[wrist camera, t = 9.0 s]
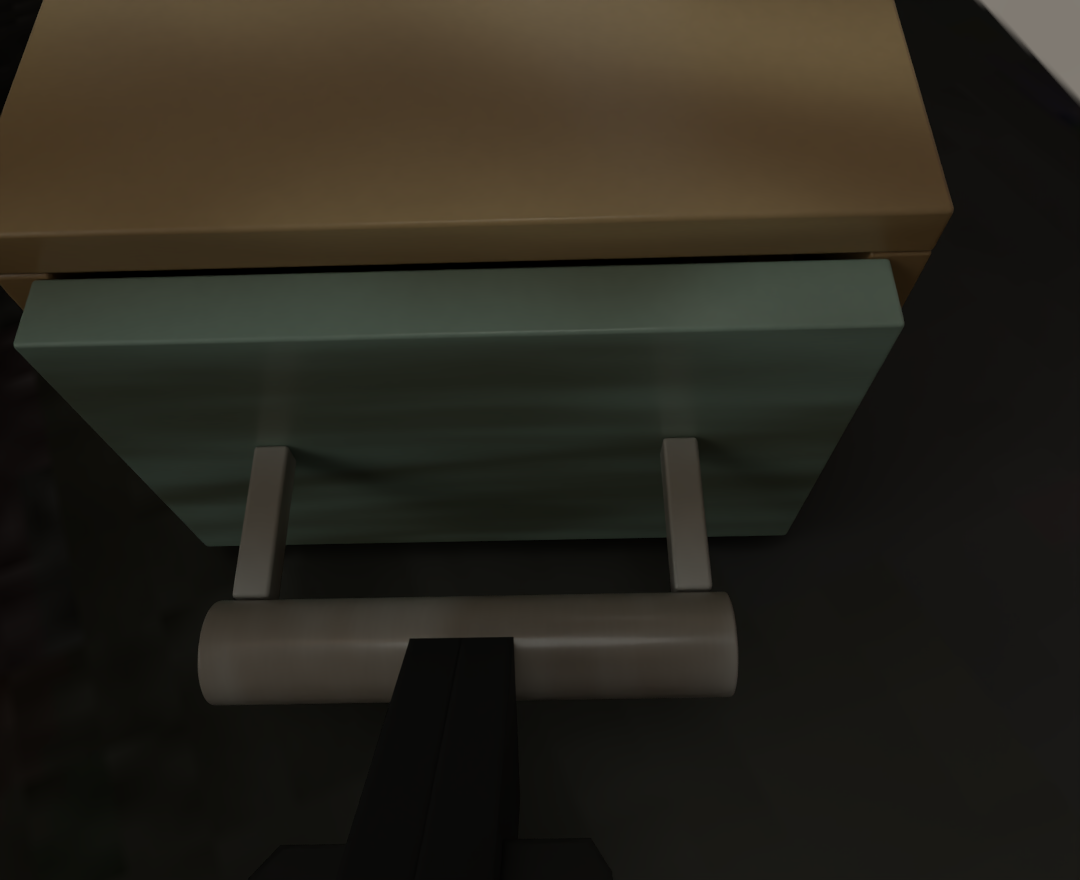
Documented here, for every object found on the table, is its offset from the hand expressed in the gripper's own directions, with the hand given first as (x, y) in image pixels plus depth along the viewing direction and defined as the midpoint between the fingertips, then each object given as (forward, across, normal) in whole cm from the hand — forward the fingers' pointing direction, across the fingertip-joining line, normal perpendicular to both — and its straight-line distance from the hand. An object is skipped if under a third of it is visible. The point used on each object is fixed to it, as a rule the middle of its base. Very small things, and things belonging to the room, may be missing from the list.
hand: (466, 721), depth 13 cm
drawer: (+10, 0, +4) cm, 11 cm away
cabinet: (+14, 0, +6) cm, 15 cm away
